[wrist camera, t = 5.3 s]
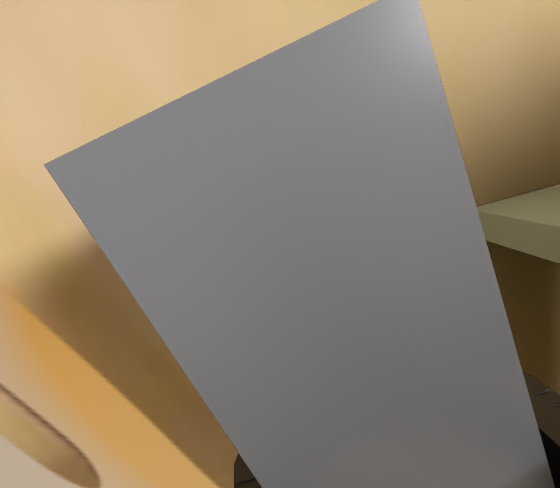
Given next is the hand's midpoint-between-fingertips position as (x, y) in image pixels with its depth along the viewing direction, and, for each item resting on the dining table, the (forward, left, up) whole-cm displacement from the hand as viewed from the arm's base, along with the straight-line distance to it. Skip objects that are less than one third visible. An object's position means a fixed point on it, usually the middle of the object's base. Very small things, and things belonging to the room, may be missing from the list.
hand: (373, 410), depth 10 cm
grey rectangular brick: (0, 0, -2) cm, 2 cm away
